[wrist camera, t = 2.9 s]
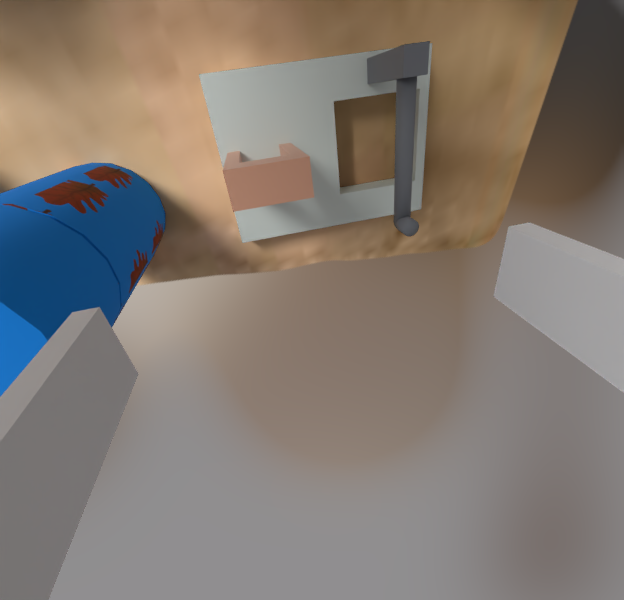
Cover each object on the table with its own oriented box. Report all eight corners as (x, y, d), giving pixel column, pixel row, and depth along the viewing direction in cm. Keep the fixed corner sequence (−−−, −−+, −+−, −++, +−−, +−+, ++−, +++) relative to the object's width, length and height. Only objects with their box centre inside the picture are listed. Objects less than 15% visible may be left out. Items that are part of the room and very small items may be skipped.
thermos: (31, 192, 33) (-343, 348, 12) (117, 139, 32) (-123, 204, 11) (113, 273, 38) (-38, 472, 18) (187, 230, 38) (121, 386, 17)
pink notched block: (235, 183, 33) (233, 211, 24) (227, 152, 31) (222, 170, 23) (294, 173, 34) (314, 197, 25) (290, 142, 32) (309, 156, 23)
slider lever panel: (242, 234, 39) (243, 276, 29) (202, 77, 30) (184, 63, 21) (410, 203, 41) (462, 232, 32) (417, 47, 32) (492, 23, 23)
